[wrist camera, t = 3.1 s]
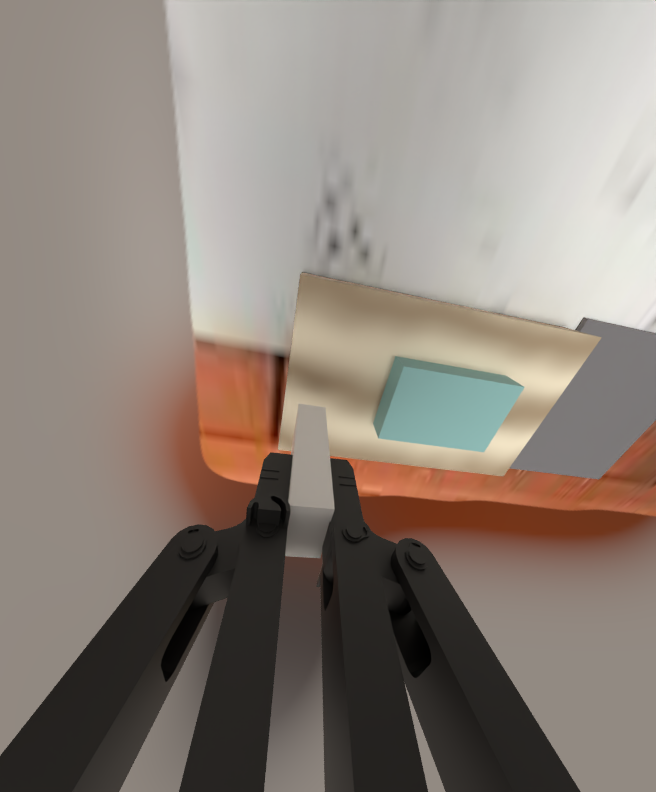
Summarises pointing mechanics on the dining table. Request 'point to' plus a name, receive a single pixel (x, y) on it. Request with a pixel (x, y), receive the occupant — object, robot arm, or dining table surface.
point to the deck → (426, 341)
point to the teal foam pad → (443, 405)
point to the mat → (598, 406)
